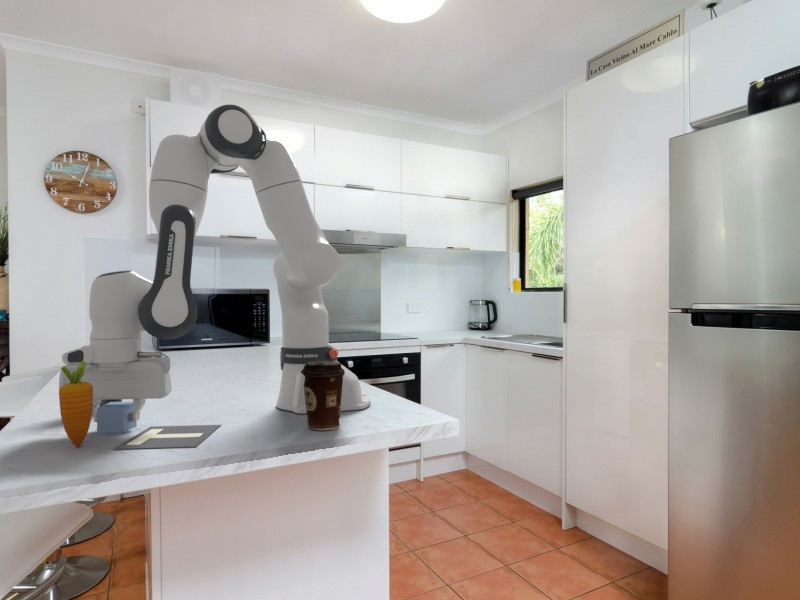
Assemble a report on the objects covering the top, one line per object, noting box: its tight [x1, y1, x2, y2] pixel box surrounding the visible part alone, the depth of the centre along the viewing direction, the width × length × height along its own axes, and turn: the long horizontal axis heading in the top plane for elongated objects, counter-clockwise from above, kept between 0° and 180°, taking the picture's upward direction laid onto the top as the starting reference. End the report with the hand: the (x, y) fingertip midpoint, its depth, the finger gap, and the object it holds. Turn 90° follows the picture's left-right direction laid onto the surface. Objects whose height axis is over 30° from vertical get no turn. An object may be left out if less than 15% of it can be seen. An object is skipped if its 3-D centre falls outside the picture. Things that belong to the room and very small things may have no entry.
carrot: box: [58, 361, 93, 448], centre depth 83 cm, size 5×5×15 cm
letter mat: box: [112, 424, 222, 451], centre depth 89 cm, size 14×14×1 cm
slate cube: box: [96, 401, 138, 434], centre depth 94 cm, size 5×5×5 cm
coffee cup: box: [301, 361, 345, 432], centre depth 95 cm, size 9×8×13 cm
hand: (117, 421), depth 94 cm, fingers closed on slate cube, 5 cm apart
